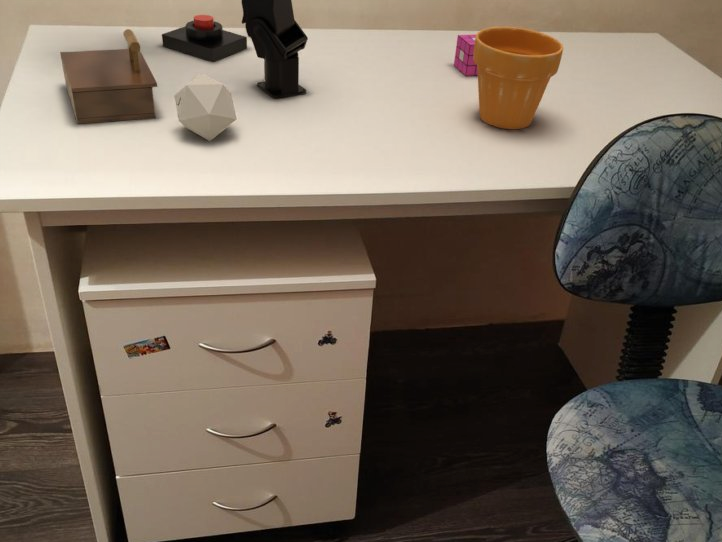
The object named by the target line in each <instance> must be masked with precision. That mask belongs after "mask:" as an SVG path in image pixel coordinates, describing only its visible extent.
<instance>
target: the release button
mask: <svg viewBox="0 0 722 542" xmlns="http://www.w3.org/2000/svg"><path fill="white" fill-rule="evenodd" d="M193 21H194V27H195V28H198V29H211V28H214V21H215V20H214V17H213V16H211V15H209V14H197V15H194V16H193Z"/></svg>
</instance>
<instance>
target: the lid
mask: <svg viewBox="0 0 722 542" xmlns="http://www.w3.org/2000/svg"><path fill="white" fill-rule="evenodd" d="M122 33H123V34H122V35H123V37H124V40H125V41H126V43H127V44H126V45H127V48H119V49H99V50H98V49H97V50H96V49H95V50H76V51H60V52H59V54H60V59H61V58H62V60H61V63H62V62H63V65H64V68H65V71H66V74H67V78H68V81H69V84H70V87H71V90H72V92H83V91H98V90H114V89H130V88H145V87H152V88H157V87H158V81H156V79H155V76H154V74H153V73H152V71H151V69H150V67H149V65H148V63H147V61H146V59H145V57H144V55H143V53H142V51H141V44H140V42H139V41H138V39H137V36H136V35H135V33H134V31H133V30H132V29H130V28H127V29H125V30H124V31H123V32H122Z"/></svg>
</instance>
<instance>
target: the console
mask: <svg viewBox="0 0 722 542" xmlns="http://www.w3.org/2000/svg"><path fill="white" fill-rule="evenodd" d="M161 41H162V47H164V48H167V49H171V50H173V51H177V52H180V53H183V54H186V55H190V56H193V57H197V58H199V59H203V60H206V61H209V62H212V63H214V62H216V61H219V60H222V59H224V58H228V57H229V56H232V55H235V54H237V53H239V52H243V51H245V50H247V49H248V36H245V35H241V34H239V33H235V32H231V31H228V30H224V28H223V25H222V24H221V23H220V22H219V21H215V20H214V28H211V29H198V28H195V27H194V20H191V21H188V22H186V24H185V25H184V26H182V27H179V28H176V29H173V30H170V31H167V32H164V33H161Z"/></svg>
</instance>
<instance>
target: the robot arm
mask: <svg viewBox="0 0 722 542" xmlns="http://www.w3.org/2000/svg"><path fill="white" fill-rule="evenodd" d="M241 7H242V19H241V24H242V25H243V24H245V25H244V26H245V27H244V28H245V31H246V32H245V33H246V34H247V37H248V38H250V39H251V41H252V44H253V48H254V50H255V54H256V57H257V58H259V59H263V71H264V73H263V77H264V79H263V81H257V82H256V86H257V87H258V88H259V89H260V90H262V91H263V92H265V93H266V94H267V95H269V96H270V97H272V98H273V99H278V98H284V97H290V96H291V97H292V96H296V95H301V94H302V95H303V94H306V93H307V89H306V88H304V87H303V86H302V85H300V84H299V81H300V80H299V79H300V78H299V77H300V76H299V75H300V73H299V72H300V57H299V52H300V51H302V50H304V49H305V48H306V45H307V42H308V39H309V38H308V36H307V35H306V33H305V32H304V30H303V29H302V27H301V26H300V25H299V24H298V22H297V21H296V19H295V14H294V9H293V8H294V7H293V0H241Z"/></svg>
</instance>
